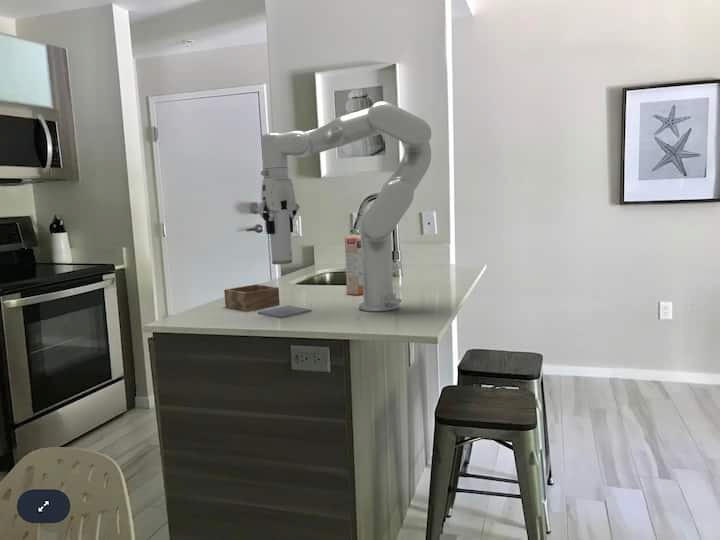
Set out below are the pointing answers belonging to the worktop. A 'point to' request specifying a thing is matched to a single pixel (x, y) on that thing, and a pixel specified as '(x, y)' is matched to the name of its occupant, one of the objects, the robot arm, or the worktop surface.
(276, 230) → the travel mug
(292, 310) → the mat
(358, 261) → the cracker box
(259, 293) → the crate
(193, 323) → the worktop surface
